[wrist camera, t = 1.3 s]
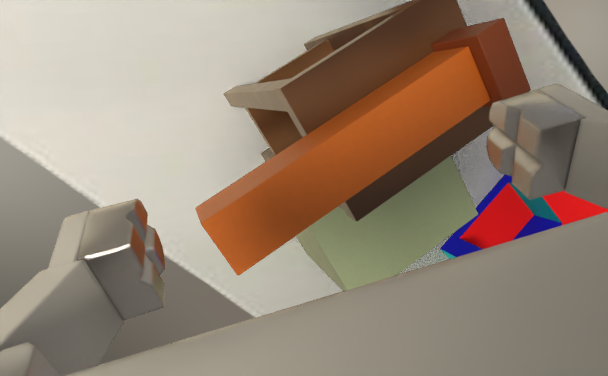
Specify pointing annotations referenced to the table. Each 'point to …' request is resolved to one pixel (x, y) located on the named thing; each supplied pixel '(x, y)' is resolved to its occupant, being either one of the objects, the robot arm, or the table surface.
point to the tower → (363, 143)
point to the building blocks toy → (515, 218)
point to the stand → (358, 89)
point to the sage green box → (390, 229)
